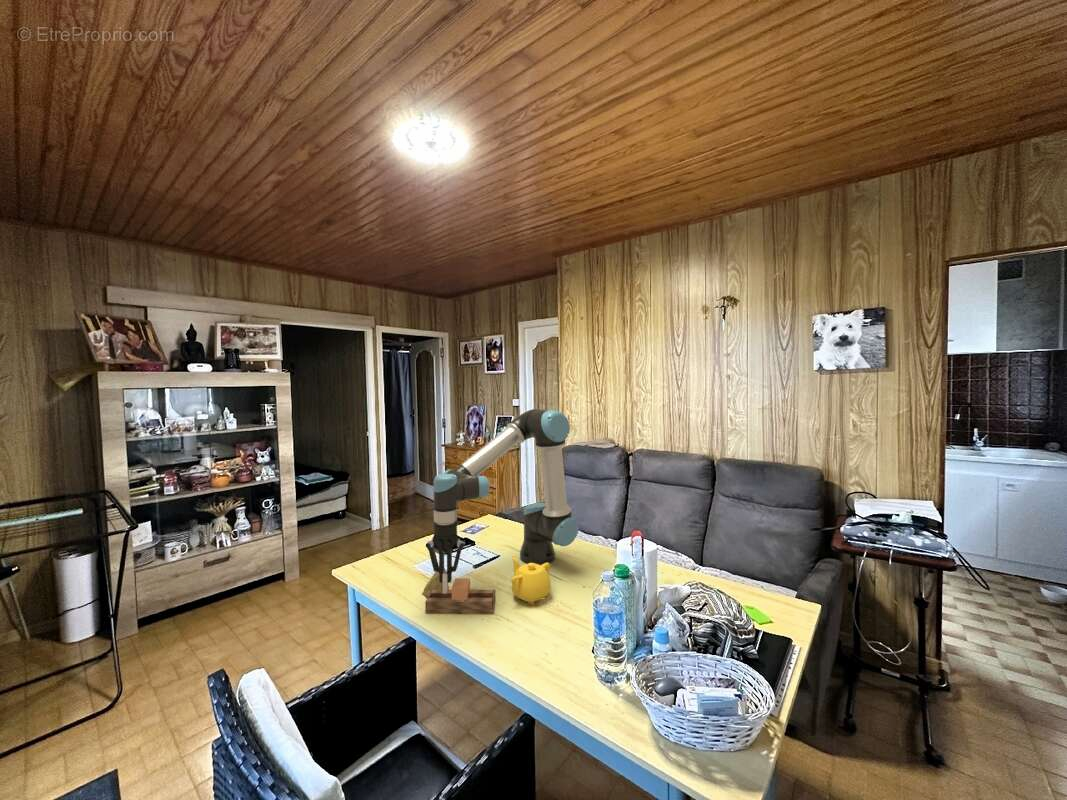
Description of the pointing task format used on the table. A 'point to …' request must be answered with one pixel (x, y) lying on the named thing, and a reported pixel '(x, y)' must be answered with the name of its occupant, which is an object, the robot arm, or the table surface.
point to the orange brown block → (461, 589)
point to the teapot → (530, 581)
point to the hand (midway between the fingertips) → (445, 591)
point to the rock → (433, 584)
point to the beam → (461, 603)
